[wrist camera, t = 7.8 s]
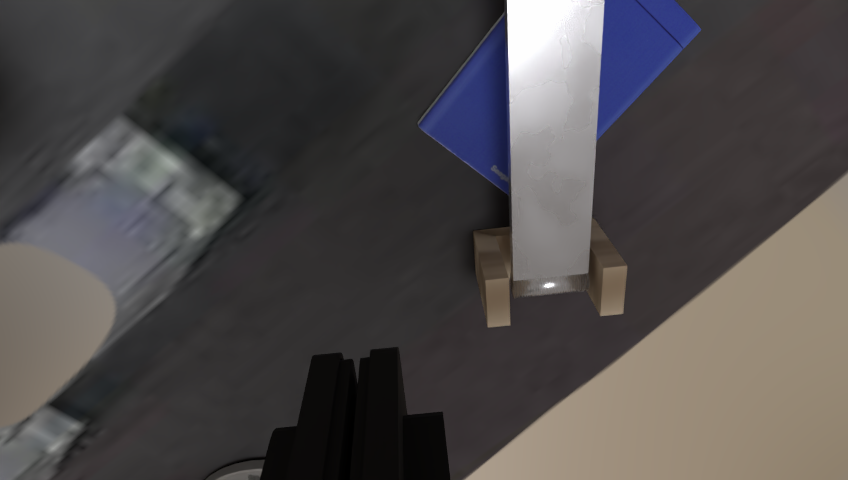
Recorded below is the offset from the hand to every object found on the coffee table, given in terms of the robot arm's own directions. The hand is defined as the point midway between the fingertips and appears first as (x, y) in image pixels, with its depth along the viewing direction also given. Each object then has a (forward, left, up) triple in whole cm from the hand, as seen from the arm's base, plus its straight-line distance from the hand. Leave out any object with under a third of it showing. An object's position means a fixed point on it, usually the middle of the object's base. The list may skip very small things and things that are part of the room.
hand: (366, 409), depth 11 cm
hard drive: (+1, -9, -22) cm, 23 cm away
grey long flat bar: (0, -8, -17) cm, 19 cm away
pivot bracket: (-9, -8, -21) cm, 24 cm away
